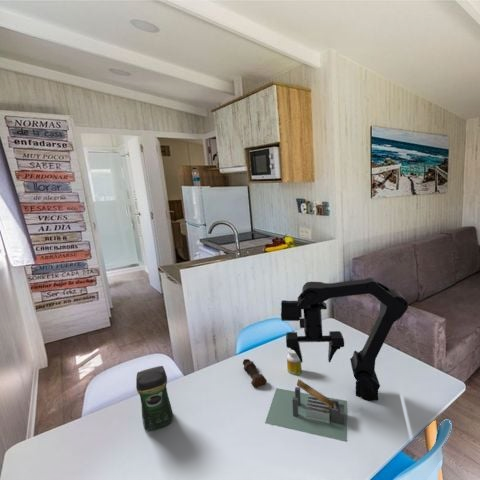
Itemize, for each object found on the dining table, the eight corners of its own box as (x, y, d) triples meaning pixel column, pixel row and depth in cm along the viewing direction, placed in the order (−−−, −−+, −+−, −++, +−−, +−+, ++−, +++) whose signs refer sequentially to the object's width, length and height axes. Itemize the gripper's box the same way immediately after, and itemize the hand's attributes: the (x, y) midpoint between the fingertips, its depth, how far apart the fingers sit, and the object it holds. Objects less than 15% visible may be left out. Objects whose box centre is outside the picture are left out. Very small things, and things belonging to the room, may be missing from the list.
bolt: (248, 369, 122) (262, 391, 108) (238, 366, 120) (250, 389, 106) (254, 356, 122) (268, 377, 108) (243, 353, 120) (257, 374, 106)
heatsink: (330, 407, 95) (330, 398, 94) (329, 425, 88) (329, 415, 88) (308, 403, 97) (308, 394, 97) (305, 420, 91) (305, 410, 90)
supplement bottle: (297, 378, 111) (296, 356, 109) (285, 374, 114) (283, 351, 112) (303, 370, 115) (302, 348, 113) (291, 366, 118) (290, 344, 116)
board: (347, 403, 97) (347, 400, 97) (346, 444, 83) (346, 441, 83) (276, 390, 106) (276, 388, 106) (265, 425, 91) (264, 423, 91)
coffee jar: (171, 407, 102) (164, 360, 98) (174, 425, 94) (167, 374, 90) (142, 416, 99) (134, 367, 95) (143, 435, 91) (134, 383, 87)
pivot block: (344, 413, 92) (344, 401, 91) (344, 424, 88) (344, 412, 87) (332, 411, 94) (331, 399, 93) (331, 421, 89) (331, 409, 89)
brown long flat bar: (335, 405, 92) (337, 403, 91) (335, 412, 89) (337, 410, 89) (297, 380, 94) (299, 378, 94) (296, 386, 92) (297, 384, 92)
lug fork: (300, 403, 98) (300, 387, 97) (297, 417, 92) (297, 400, 91) (296, 402, 98) (295, 386, 97) (293, 416, 93) (292, 399, 92)
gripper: (337, 308, 104) (339, 348, 107) (284, 310, 107) (287, 348, 110) (343, 323, 93) (345, 367, 96) (284, 325, 96) (288, 367, 99)
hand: (315, 361), depth 101 cm, fingers open, 9 cm apart
